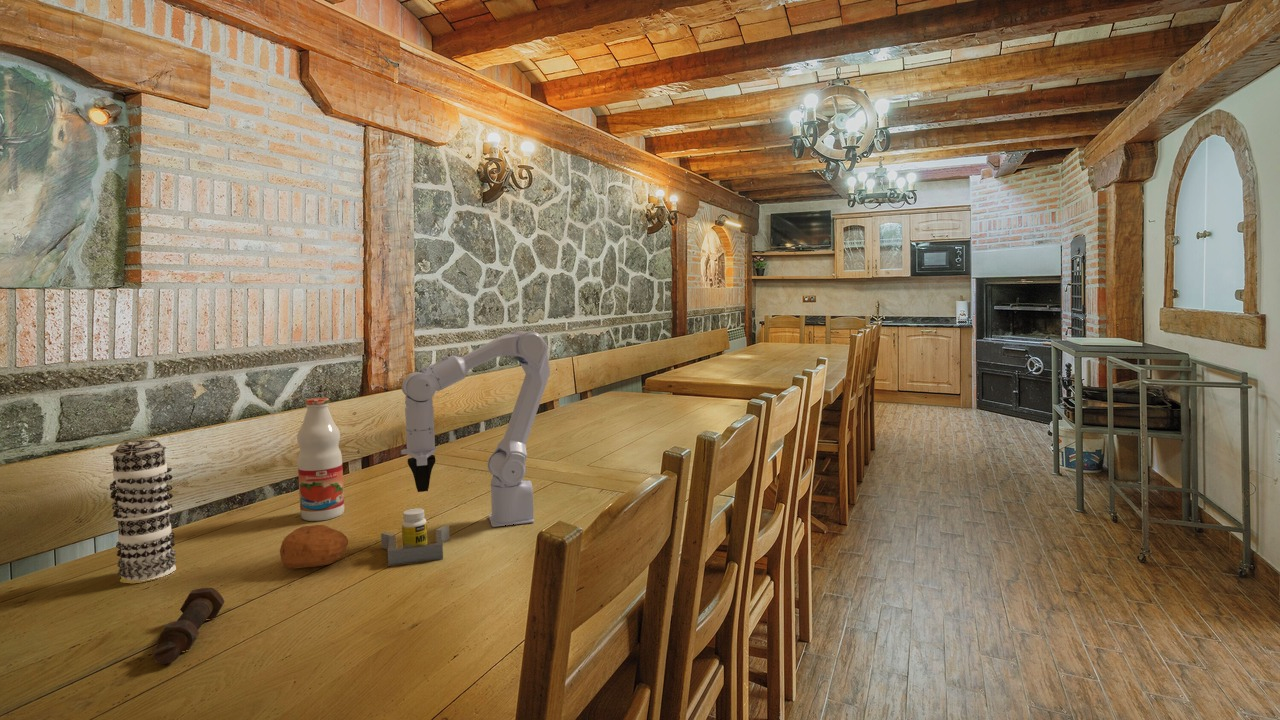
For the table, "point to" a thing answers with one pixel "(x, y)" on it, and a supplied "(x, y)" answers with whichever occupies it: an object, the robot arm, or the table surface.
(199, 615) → the bolt
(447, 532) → the steel bracket
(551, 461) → the table surface
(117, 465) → the decorative candle
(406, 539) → the supplement bottle
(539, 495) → the table surface
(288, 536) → the potato
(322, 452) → the fruit juice
